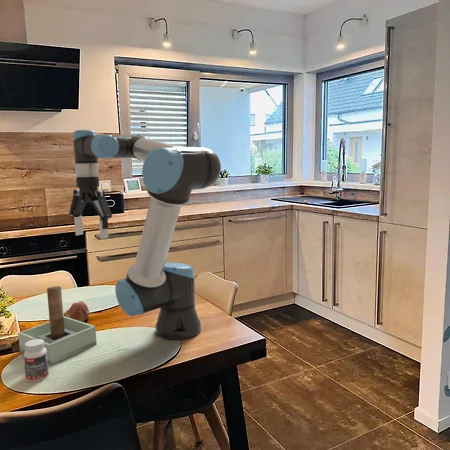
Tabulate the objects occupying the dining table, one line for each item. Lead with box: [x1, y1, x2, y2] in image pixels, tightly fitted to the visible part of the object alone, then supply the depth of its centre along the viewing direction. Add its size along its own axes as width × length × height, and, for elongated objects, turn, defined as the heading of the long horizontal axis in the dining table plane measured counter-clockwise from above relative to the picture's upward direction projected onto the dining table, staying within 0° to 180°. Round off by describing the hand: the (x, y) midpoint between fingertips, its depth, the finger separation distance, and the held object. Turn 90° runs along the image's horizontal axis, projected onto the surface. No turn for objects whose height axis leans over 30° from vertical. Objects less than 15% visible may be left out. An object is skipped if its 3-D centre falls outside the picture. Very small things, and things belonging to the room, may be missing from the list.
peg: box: [46, 285, 65, 340], centre depth 131 cm, size 4×4×18 cm
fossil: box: [63, 301, 90, 323], centre depth 153 cm, size 13×8×10 cm
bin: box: [17, 315, 97, 366], centre depth 132 cm, size 16×16×6 cm
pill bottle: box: [23, 339, 49, 383], centre depth 114 cm, size 6×6×10 cm
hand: (91, 236), depth 151 cm, fingers open, 13 cm apart
